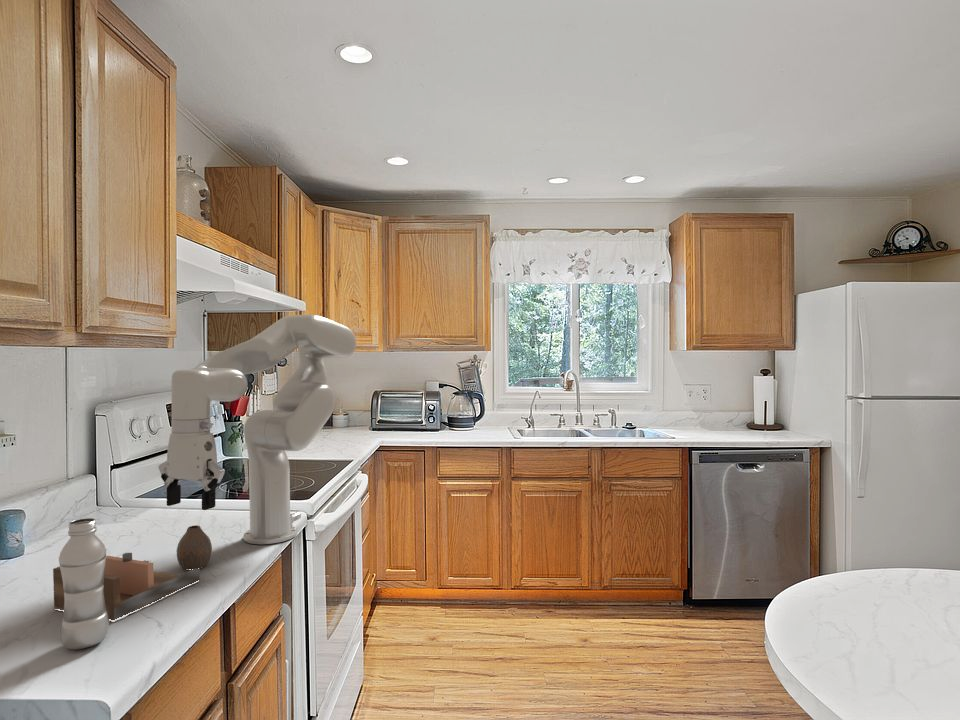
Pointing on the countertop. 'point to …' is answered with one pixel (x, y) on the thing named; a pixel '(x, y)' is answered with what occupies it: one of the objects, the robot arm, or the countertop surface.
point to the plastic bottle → (83, 586)
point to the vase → (194, 548)
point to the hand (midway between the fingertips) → (190, 506)
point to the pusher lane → (126, 603)
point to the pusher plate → (130, 573)
